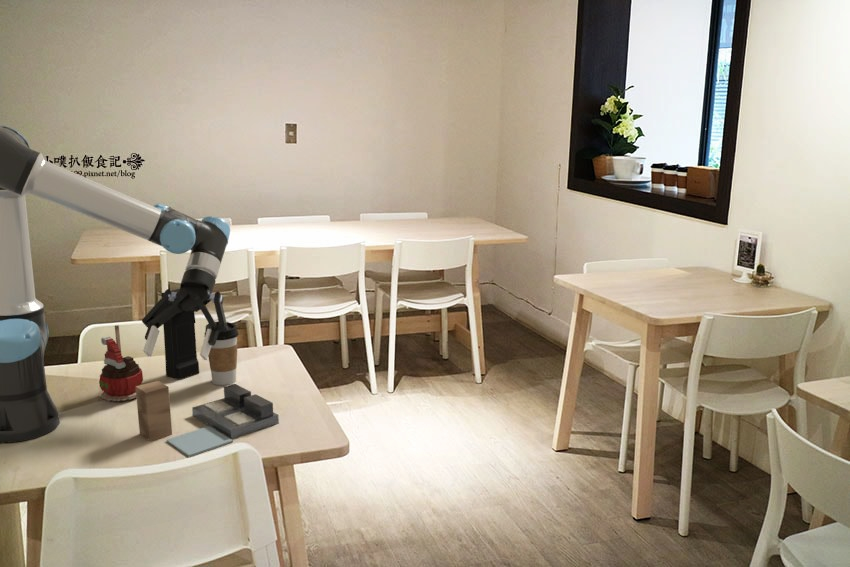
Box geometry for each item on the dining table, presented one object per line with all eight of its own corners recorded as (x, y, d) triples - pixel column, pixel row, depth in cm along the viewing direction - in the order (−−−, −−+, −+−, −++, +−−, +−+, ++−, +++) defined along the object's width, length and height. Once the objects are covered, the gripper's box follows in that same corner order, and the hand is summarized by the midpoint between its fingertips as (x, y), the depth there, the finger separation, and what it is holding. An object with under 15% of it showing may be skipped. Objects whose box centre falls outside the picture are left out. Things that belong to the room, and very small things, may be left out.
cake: (153, 395, 188) (147, 324, 184) (118, 407, 180) (111, 334, 176) (127, 385, 194) (121, 317, 190) (93, 396, 187) (85, 326, 182)
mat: (166, 441, 163) (166, 439, 163) (209, 427, 170) (209, 425, 170) (189, 456, 156) (189, 455, 156) (232, 442, 163) (232, 440, 163)
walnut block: (139, 433, 166) (135, 386, 164) (161, 427, 170) (157, 380, 167) (150, 441, 163) (145, 392, 160) (172, 434, 166) (168, 386, 164)
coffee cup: (227, 373, 203) (224, 318, 199) (247, 380, 198) (244, 324, 194) (200, 381, 197) (196, 325, 193) (220, 389, 191) (217, 332, 188)
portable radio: (189, 367, 207) (182, 277, 201) (203, 372, 204) (197, 280, 198) (164, 375, 201) (156, 283, 195) (178, 380, 197) (171, 286, 191)
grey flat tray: (192, 415, 176) (191, 395, 175) (238, 401, 184) (237, 382, 183) (231, 439, 164) (230, 417, 163) (278, 423, 172) (277, 402, 171)
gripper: (254, 286, 185) (232, 366, 174) (158, 281, 189) (131, 359, 178) (244, 269, 178) (221, 351, 168) (145, 265, 183) (116, 344, 172)
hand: (175, 355), depth 173 cm, fingers open, 13 cm apart
